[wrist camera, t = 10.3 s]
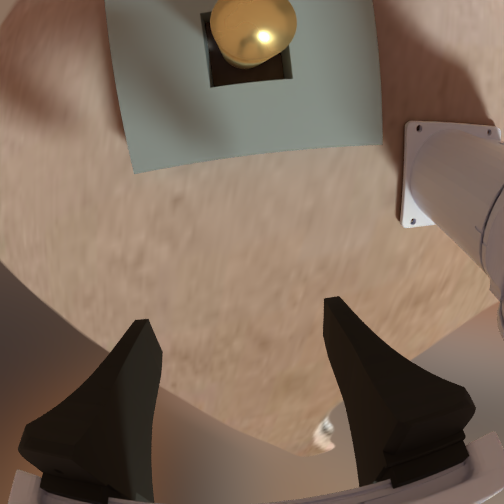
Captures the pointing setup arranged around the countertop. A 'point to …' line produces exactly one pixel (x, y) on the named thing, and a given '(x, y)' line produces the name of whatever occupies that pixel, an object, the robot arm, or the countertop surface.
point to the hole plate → (242, 84)
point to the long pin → (252, 30)
